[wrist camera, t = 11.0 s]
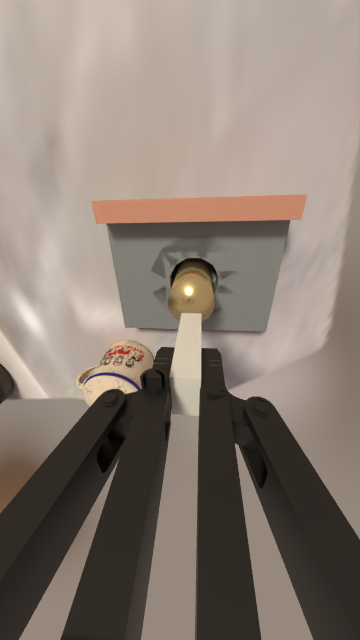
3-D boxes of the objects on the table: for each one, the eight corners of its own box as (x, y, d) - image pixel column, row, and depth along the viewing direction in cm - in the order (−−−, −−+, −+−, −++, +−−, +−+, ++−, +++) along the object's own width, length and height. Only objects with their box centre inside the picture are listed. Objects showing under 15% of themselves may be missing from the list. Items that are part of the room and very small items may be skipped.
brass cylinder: (178, 289, 30) (168, 323, 21) (177, 257, 27) (166, 281, 19) (209, 289, 29) (213, 324, 21) (211, 257, 27) (216, 281, 18)
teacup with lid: (151, 337, 34) (130, 392, 24) (158, 376, 39) (143, 436, 29) (85, 338, 36) (40, 390, 26) (99, 376, 40) (65, 433, 30)
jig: (132, 316, 33) (119, 337, 27) (114, 202, 25) (91, 200, 20) (259, 319, 31) (271, 342, 26) (283, 197, 23) (307, 194, 18)
